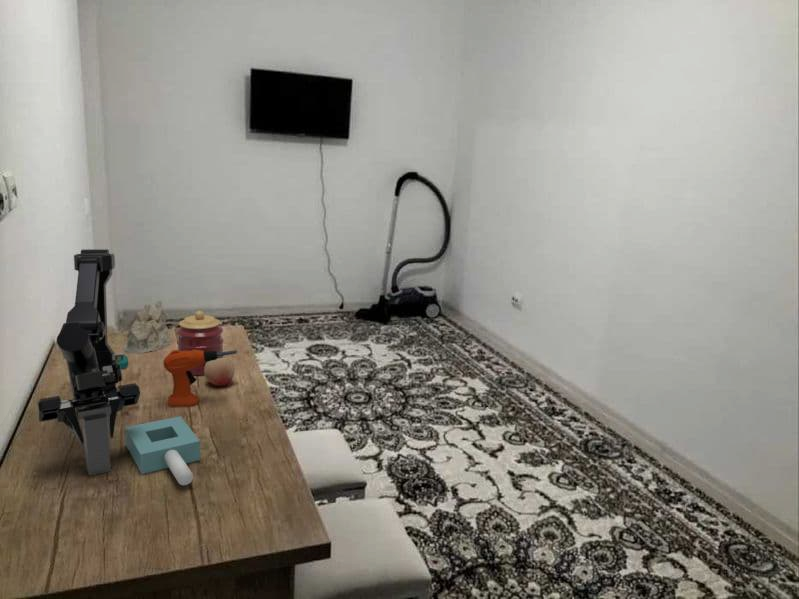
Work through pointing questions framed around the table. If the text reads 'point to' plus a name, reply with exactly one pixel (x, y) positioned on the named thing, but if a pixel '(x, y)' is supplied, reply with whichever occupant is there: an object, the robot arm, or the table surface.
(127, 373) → the table surface
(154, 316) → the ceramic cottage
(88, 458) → the grey t-shaped bar
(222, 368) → the fruit
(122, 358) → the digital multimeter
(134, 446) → the block
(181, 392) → the toy drill
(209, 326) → the canister
